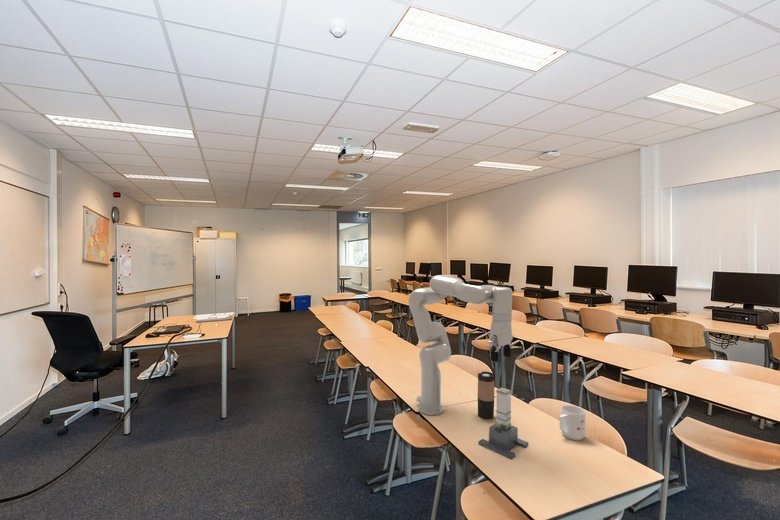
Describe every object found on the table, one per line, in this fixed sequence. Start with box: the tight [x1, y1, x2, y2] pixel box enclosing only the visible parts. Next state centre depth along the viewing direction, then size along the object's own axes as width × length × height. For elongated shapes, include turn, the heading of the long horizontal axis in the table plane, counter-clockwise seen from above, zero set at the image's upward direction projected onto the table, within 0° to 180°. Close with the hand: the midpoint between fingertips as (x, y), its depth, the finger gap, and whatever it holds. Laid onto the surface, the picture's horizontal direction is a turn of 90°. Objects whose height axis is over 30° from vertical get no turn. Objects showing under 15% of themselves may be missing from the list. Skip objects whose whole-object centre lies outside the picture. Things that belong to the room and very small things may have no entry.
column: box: [495, 387, 512, 432], centre depth 136 cm, size 4×4×16 cm
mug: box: [558, 404, 586, 441], centre depth 143 cm, size 12×9×11 cm
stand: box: [478, 422, 529, 460], centre depth 136 cm, size 14×14×8 cm
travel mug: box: [477, 371, 495, 421], centre depth 161 cm, size 8×8×20 cm
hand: (500, 358), depth 140 cm, fingers open, 9 cm apart
